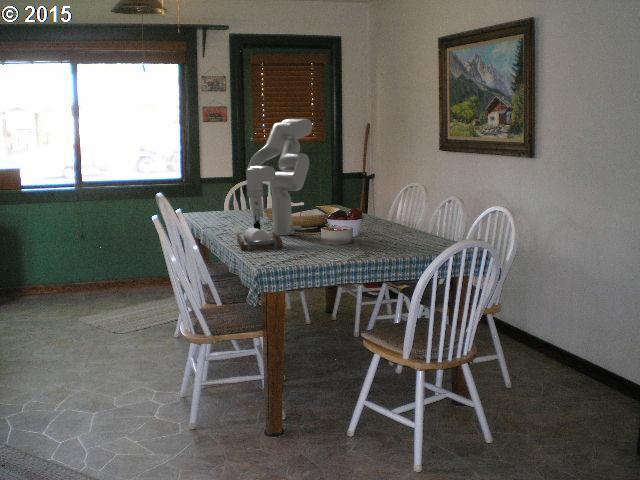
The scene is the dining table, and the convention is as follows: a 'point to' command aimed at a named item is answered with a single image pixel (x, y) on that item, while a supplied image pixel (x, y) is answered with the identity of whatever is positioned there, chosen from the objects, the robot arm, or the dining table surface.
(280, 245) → the frame
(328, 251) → the dining table surface
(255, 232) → the mug
